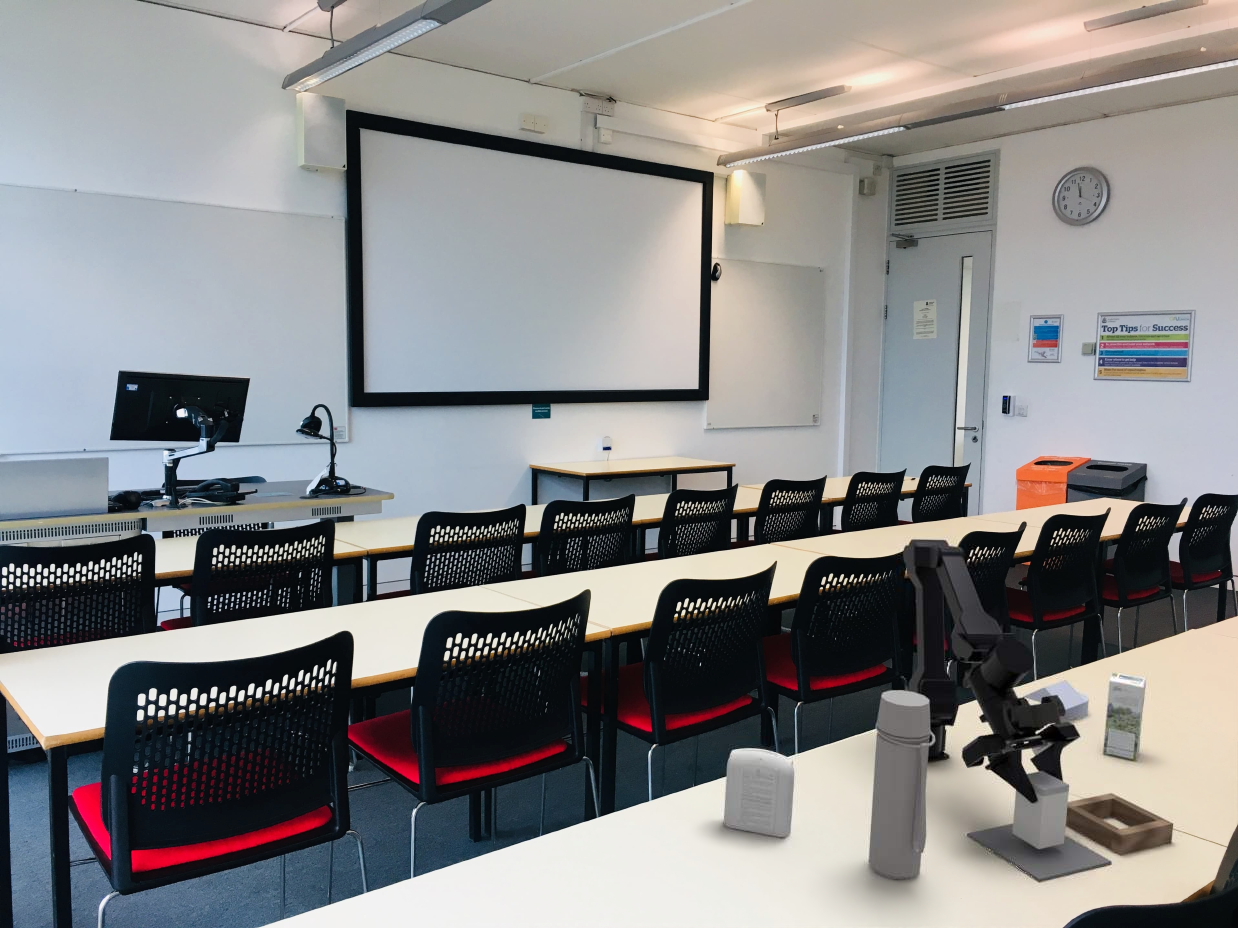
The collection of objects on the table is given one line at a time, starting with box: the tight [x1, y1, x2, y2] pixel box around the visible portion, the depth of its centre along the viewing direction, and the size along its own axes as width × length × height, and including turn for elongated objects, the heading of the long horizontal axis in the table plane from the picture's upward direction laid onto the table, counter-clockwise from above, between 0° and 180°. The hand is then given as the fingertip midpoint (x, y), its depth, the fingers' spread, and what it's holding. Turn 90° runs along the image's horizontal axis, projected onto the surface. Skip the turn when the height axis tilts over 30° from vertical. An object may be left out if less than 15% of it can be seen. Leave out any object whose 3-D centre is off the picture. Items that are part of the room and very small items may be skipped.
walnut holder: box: [1066, 792, 1174, 855], centre depth 152 cm, size 11×11×3 cm
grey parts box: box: [1012, 771, 1070, 849], centre depth 145 cm, size 5×5×9 cm
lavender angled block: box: [1022, 679, 1090, 719], centre depth 204 cm, size 9×7×13 cm
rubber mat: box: [966, 823, 1112, 882], centre depth 146 cm, size 14×14×1 cm
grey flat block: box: [723, 747, 795, 838], centre depth 149 cm, size 10×4×12 cm, turn 72°
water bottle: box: [868, 689, 935, 880], centre depth 137 cm, size 9×8×25 cm
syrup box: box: [1102, 672, 1147, 762], centre depth 183 cm, size 6×6×14 cm
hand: (1048, 799), depth 144 cm, fingers closed on grey parts box, 5 cm apart
